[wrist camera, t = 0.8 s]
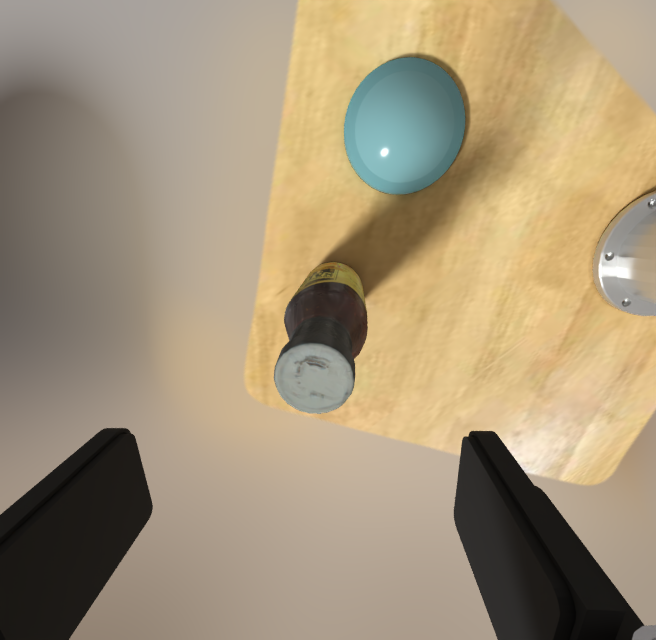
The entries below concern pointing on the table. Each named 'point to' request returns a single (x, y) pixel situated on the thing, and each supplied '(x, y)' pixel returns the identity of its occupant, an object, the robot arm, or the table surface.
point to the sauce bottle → (322, 339)
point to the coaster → (404, 126)
